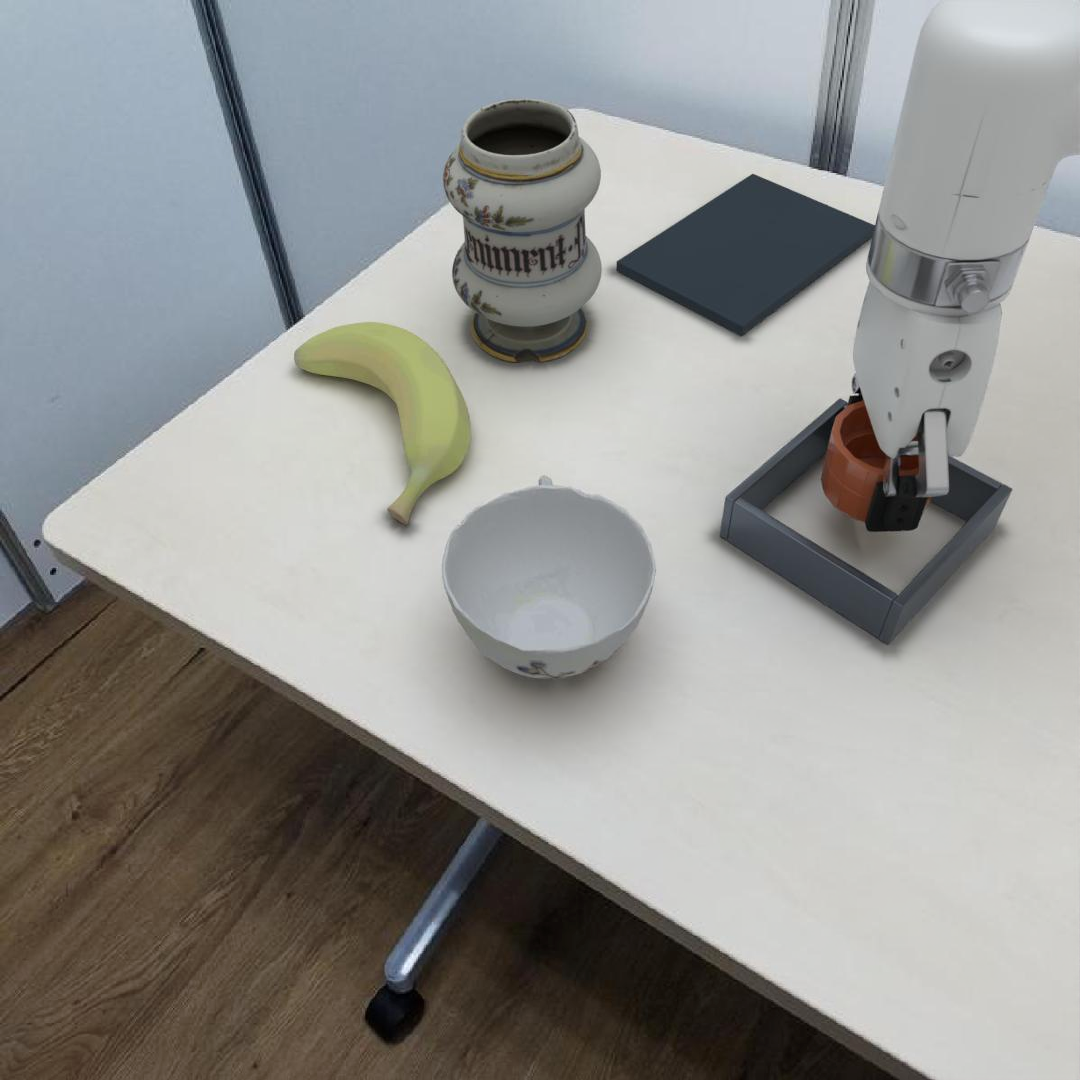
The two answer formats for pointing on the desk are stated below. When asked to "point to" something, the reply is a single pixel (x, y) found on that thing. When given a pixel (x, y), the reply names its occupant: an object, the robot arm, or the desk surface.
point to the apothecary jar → (524, 228)
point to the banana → (400, 395)
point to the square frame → (828, 573)
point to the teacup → (548, 579)
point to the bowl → (857, 463)
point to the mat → (746, 252)
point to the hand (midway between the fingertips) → (876, 481)
